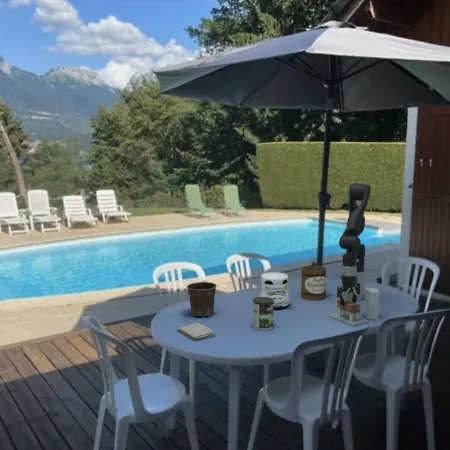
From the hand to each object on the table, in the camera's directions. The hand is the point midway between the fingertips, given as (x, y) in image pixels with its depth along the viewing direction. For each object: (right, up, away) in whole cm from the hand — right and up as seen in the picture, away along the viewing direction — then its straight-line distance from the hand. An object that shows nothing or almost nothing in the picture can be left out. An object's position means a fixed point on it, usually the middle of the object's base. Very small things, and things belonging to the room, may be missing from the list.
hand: (348, 304), depth 257 cm
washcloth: (-79, -13, -15) cm, 81 cm away
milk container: (-36, -5, +26) cm, 45 cm away
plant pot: (-77, -8, +13) cm, 79 cm away
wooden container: (-11, -3, +42) cm, 44 cm away
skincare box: (+14, -8, +6) cm, 17 cm away
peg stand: (0, -8, +1) cm, 9 cm away
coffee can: (-45, -11, -7) cm, 47 cm away
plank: (0, -3, 0) cm, 3 cm away
